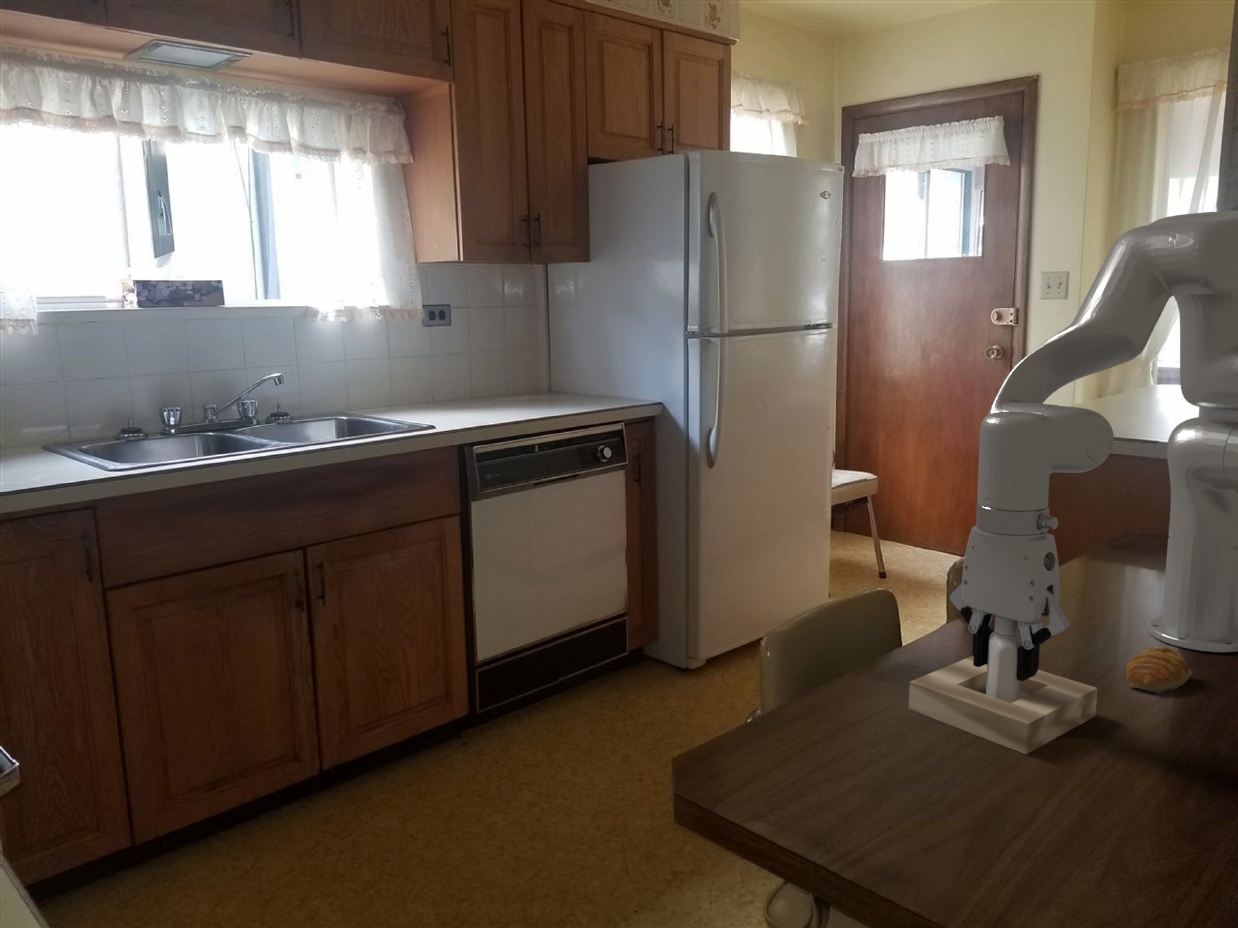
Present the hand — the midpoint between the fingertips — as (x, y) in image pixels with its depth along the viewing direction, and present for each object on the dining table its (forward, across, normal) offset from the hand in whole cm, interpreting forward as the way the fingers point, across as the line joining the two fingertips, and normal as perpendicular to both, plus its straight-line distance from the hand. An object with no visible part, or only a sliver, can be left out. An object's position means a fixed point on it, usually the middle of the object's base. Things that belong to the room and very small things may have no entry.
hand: (1004, 669), depth 113 cm
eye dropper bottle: (+4, 0, 0) cm, 4 cm away
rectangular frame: (+5, 0, 0) cm, 5 cm away
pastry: (+6, -7, -24) cm, 25 cm away
